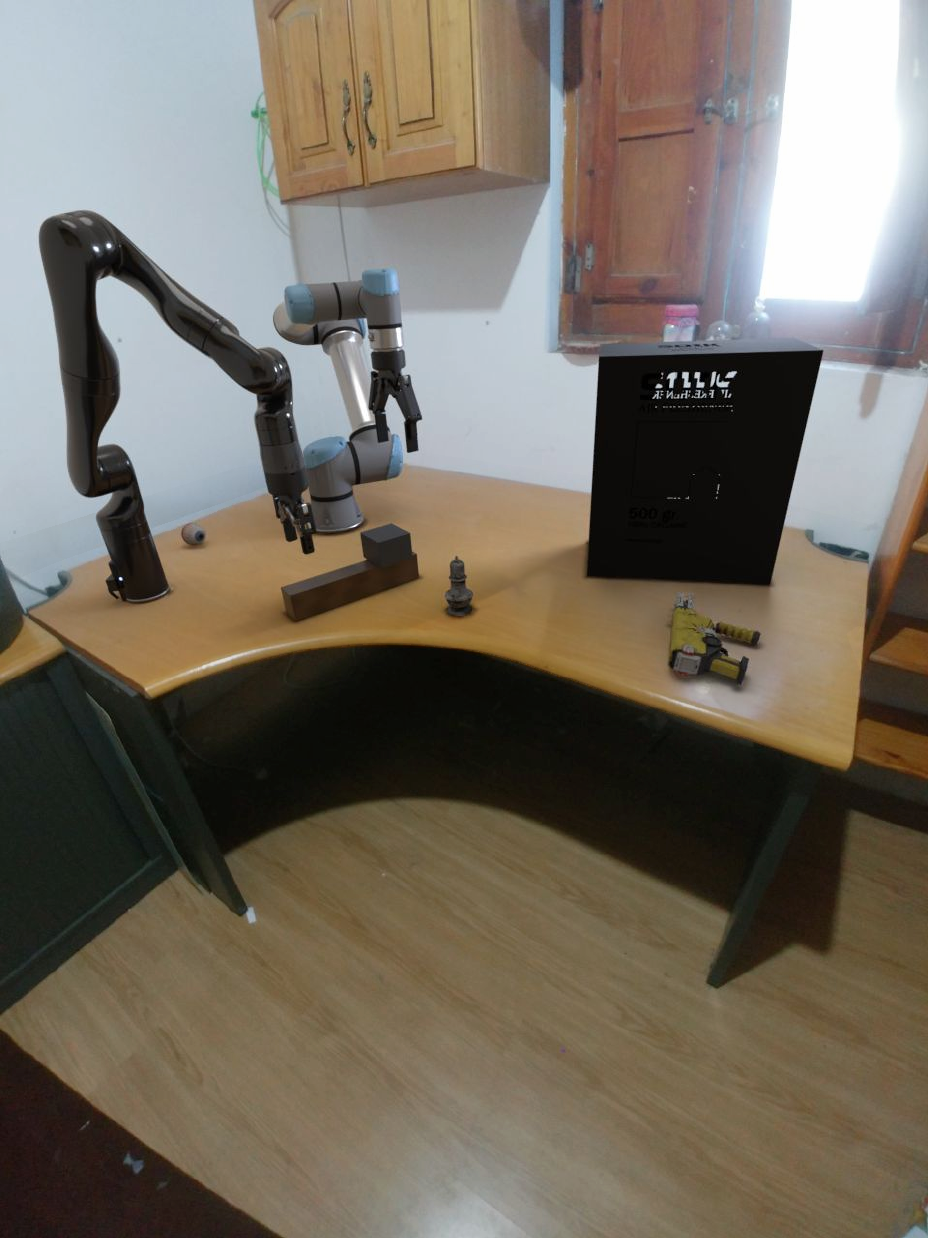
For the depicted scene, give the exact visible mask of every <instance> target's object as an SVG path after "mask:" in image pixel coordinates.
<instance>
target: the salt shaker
mask: <svg viewBox="0 0 928 1238" xmlns="http://www.w3.org/2000/svg"><path fill="white" fill-rule="evenodd" d="M465 568H466V567H465V562H464V561H463V560H462V559H459V557H458V555H455V557H454V559H453V560H451V561H450V562H449V576H448V580H449V581H450V588H449V589H448V590H446V591H445V593H444V598H445V600H446V603H447V604H448V607H447V608H446V612H447V613H448V614H449V615H450V616H455V617H462V616H467V615H470V614H471V613H472V612H473V609H474V607H473V605H471V602H472V600H473V597H474V591H473V590H472V589H470V588H468V587H467V583H466V582H467V581H466V579H467V578H468V575H467V574H466V571H465Z"/></svg>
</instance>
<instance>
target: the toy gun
mask: <svg viewBox="0 0 928 1238" xmlns="http://www.w3.org/2000/svg"><path fill="white" fill-rule="evenodd" d="M684 598H687V599H684ZM674 600H675V601H674V603H673V613H672V617H671V621H670V623H671V624H670V633H669V644H668V655H667V667H668V669H670V670H673V671H675V672H676V674H677V675H683V676H685V677H688V676H689V675H694V676H699V675H704V674H705V673H707V672H708V671H712V672H714V673H717V674H721V675H724V676H726V677H729V678H732V679H734V680H736V684H737V686H742V685H743V682H744V679H745V676H746V673H747V671H748V670H747V669H748V668H749V667H748V666H749V662H750V658H749V657H746V656H745V655H743V656H742V657H741V659H740V660H738V659H736V658H732V657H730V656H729V651H728V650H727V648H724V647H723V641H722V640H721V638H719V637H718V635H720V636H721V635H723V636H724V637H727V638H728V637H729V638H730V637H731V638H732V639H733V640H737V639H738V640H739V641H740V642H746V643H747V644H751V645H752V646H758V644H759V641H760V638H761V632H760V631H758V630H753V629H750V630H748V628H746V627H742V628H741V626H739V625H732V624H731V623H726V622H724V621H722V620H721V621H718V622H716V624H715V623H714V621H713V619H712V618H711V617H709V616H705V615H702V614H699V613H696V611H695V610H694V609H695V595H694V594H693V593H690V592H688V593H687V595H685V592H683V591H679V592H677V593H676V595H675V599H674Z"/></svg>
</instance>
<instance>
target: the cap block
mask: <svg viewBox="0 0 928 1238" xmlns="http://www.w3.org/2000/svg"><path fill="white" fill-rule="evenodd" d="M359 536H360V543H361V550H362V557H363V559H365V560H368V561H370V562H372V563H373V564H375V565H376V566H378V567H379V568H381V569H382V568H385V567H388V566H391V565H394V564H397V563H400V562H403V561H406V560H409V559H412V558H413V555H412V551H413V547H412V536H411V532H409V531H408V530H405V529H403V528H402V527H399V526H398V525H396V524H394V523H391V522H390V523H387V524H384V525H380V526H377V527H374V528H370V529H367V530H364V531H363V530H362V531H360V532H359Z"/></svg>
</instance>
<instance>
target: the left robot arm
mask: <svg viewBox="0 0 928 1238" xmlns="http://www.w3.org/2000/svg"><path fill="white" fill-rule="evenodd" d="M38 247H39V253H40V259H41V263H42V267H43V271H44V276H45V280H46V285H47V289H48V293H49V298H50V302H51V307H52V308H51V309H52V314H53V322H54V329H55V335H56V343H57V350H58V351H57V352H58V364H59V372H60V381H61V386H62V393H63V400H64V401H63V402H64V409H65V421H66V422H65V424H66V468H67V473H68V477H69V479H70V482H71V484H72V486H73V488H74V489H75V490H76V493H78V494H79V495H81V496H82V497H83V498H88V499H93V498H100V497H104V496H106V495H110V494H111V496H110V498H109V500H108V502H107V503H106V504H105V505H104V506H103V507H102V508H100V509H99V510H98V511H97V513H96V514H95V521H96V524H97V527H98V528H99V532H100V534H101V537H102V540H103V542H104V545H105V547H106V551H107V553H108V555H109V558H110V560H109V561H108V562H107V564H108V567H109V570H110V575H109V576H108V577H107V578H106V579H105V583H106V586H107V592H108V593H109V594H110V595H111V597H113V598H114V599H115V600H118V599H121V602H123V603H126V602H127V603H131V604H143V603H144V604H145V603H149V602H153V601H156V600H158V599H159V600H160V599H161V598H163V597H164V596H166V595H167V594H169V592H170V591H171V587H170V584H169V582H168V578H167V577H166V573H165V570H164V568H163V564H162V561H161V557H160V555H159V552H158V550H157V549H158V548H157V546H156V544H155V540H154V538H153V534H152V532H151V529H150V525H149V523H148V522H149V521H148V519H147V516H146V513H145V503H144V499H143V495H142V492H141V489H140V484H139V481H138V477H137V472H136V469H135V467H134V464H133V461H132V460H131V458H130V456H129V454H128V452H127V451H126V450H125V449H124V448H123V447H122V446H120V445H119V444H117V443H107V444H103V445H99V442H100V437H101V436H102V433H103V431H104V429H105V427H106V426H107V423H109V421H110V419H111V418H112V416H113V414H114V412H115V410H116V409H117V406H118V404H119V402H120V398H121V393H122V391H121V389H122V388H121V385H122V384H121V367H120V361H119V357H118V354H117V351H116V350H115V347H114V346H113V344H112V343H111V340H109V339H110V338H109V337H108V336H107V334H106V333H105V331H104V330H103V328H102V325H101V323H100V320H99V316H98V307H97V306H98V305H97V283H98V281H100V280H103V279H106V278H109V277H112V278H114V279H116V280H118V281H119V282H121V283H124V284H125V285H127V286H128V287H130V288H132V289H133V290H135V291H136V292H137V293H139V294H140V295H141V296H142V297H143V298H144V299H145V300H146V302H148V303H149V304H150V305H151V307H152V308H153V309H154V310H155V312H156V314H158V316H159V318H160V319H161V320H162V321H163V322H164V324H165V325H166V326H167V327H168V328H169V330H170V331H172V332H173V334H175V336H177V337H178V338H180V340H181V341H183V342H185V343H186V344H187V345H189V346H191V347H192V348H194V349H195V350H196V351H198V352H200V353H201V354H203V355H204V356H205V357H207V358H209V359H210V360H212V361H213V362H214V363H215V364H216V366H217V367H219V369H221V371H222V372H224V373H225V374H226V375H227V376H228V377H229V378H230V379H231V380H232V381H234V383H236V384H237V385H238V386H240V387H241V388H242V389H244V390H245V391H247V392H249V393H251V394H252V395H256V404H257V405H256V409H255V411H254V414H253V423H254V428H255V432H256V438H257V441H258V447H259V457H260V462H261V466H262V470H263V471H262V472H263V475H264V480H265V485H266V489H267V492H268V493H269V494H270V495H271V497H272V501H273V506H274V512H275V517H276V519H278V520H279V522H280V524H281V525H282V528H283V533H284V537H285V541H287V542H288V543H292V542H296V541H297V540H298V536H299V540H300V546H301V551H302V554H304V555H306V556H307V555H310V554H313V553H315V552H316V549H315V544H314V540H313V539H314V538H313V535H315V534H317V531H316V527H315V522H314V517H313V512H312V508H311V502H305V500H304V499H303V496H302V494H303V493H304V492H306V491H307V490H309V487H308V480H307V475H306V469H305V464H304V459H303V450H302V447H301V443H300V440H299V436H298V435H299V434H298V431H297V425H296V420H295V417H294V396H293V395H294V390H293V379H292V372H291V367H290V365H289V362H288V360H287V358H286V356H285V355H284V354H283V353H282V352H281V351H279V350H278V349H276V348H274V347H271V346H262V347H259V348H257V347H255V346H254V345H252V344H251V343H249V342H248V341H247V340H246V339H244V338H243V337H242V336H240V331H239V329H238V328H237V326H235V324H234V323H232V322H231V321H230V320H229V319H227V318H226V317H224V316H223V315H222V314H221V313H219V312H218V311H216V310H215V309H213V308H212V307H210V306H209V305H207V304H206V303H205V302H203V301H201V300H200V299H199V298H197V296H195V295H194V294H192V293H191V292H190V291H188V290H187V289H186V288H185V287H183V286H182V285H181V284H179V283H178V282H177V281H176V280H175V279H173V278H172V277H171V276H170V275H169V274H168V273H166V271H164V269H163V268H161V267H160V266H159V265H158V264H157V263H156V262H155V261H154V260H153V259H152V258H150V257H149V256H148V255H147V254H146V253H145V252H144V251H143V250H142V249H141V248H139V246H137V245H136V244H135V243H134V242H133V241H132V240H131V239H130V238H129V237H128V236H127V235H126V234H125V233H123V232H122V230H120V229H119V228H118V227H117V226H116V225H115V224H114V223H112V222H111V221H110V220H109V219H107V218H106V217H105V216H104V215H102V214H100V213H98V212H96V211H93V210H89V209H79V210H73V211H68V212H67V211H66V212H63V213H58V214H55V215H51V216H49V217H47V218H46V219H45V220H43V222H42V223H41V225H40V226H39V229H38ZM115 592H118V594H119V596H120V597H119V596H118V595H117V594H116V593H115Z"/></svg>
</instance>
